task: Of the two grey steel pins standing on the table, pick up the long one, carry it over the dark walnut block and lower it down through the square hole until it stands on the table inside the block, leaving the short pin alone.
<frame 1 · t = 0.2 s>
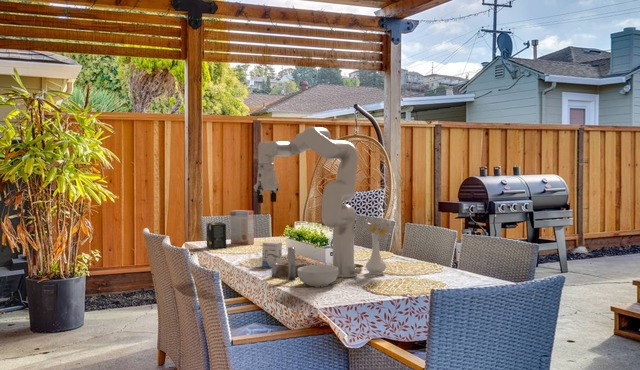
hand: (266, 202, 290), 31 cm above the table, tool pointing down, fingers open, 9 cm apart
long steel pin: (291, 280, 255), on the table
tampon box: (216, 248, 353), on the table
cereal bowl: (318, 285, 245), on the table
cracker box: (242, 244, 368), on the table
short steel pin: (274, 277, 262), on the table
ink box: (272, 266, 290), on the table
walnut hole block: (290, 275, 266), on the table
flower vase: (377, 274, 267), on the table
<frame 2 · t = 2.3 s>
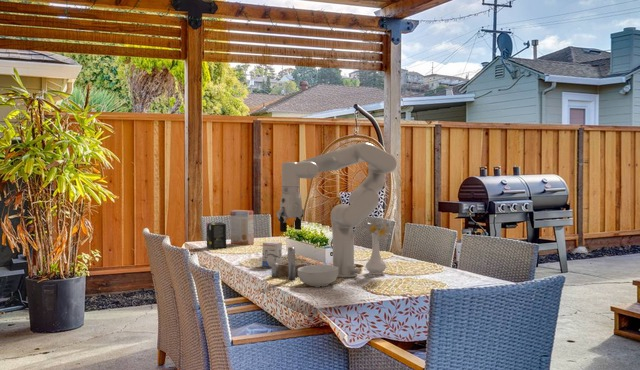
hand: (290, 230, 254), 21 cm above the table, tool pointing down, fingers open, 9 cm apart
nothing on the table moved.
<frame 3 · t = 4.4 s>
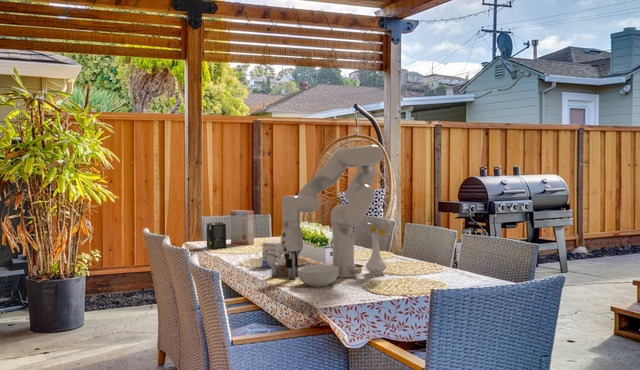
hand: (291, 266, 255), 6 cm above the table, tool pointing down, fingers closed on long steel pin, 3 cm apart
long steel pin: (291, 280, 255), on the table, touching gripper
everything else where it was.
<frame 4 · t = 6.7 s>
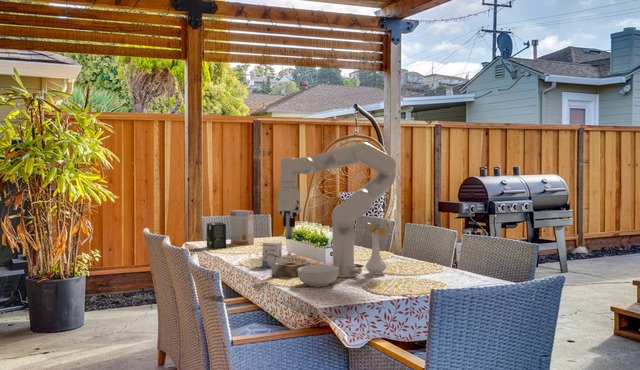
hand: (289, 226, 265), 22 cm above the table, tool pointing down, fingers closed on long steel pin, 3 cm apart
long steel pin: (289, 238, 266), point 16 cm above the table, touching gripper
everything else where it was.
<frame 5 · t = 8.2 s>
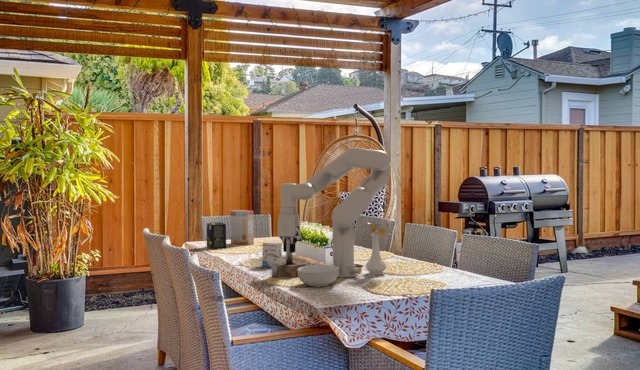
hand: (289, 251, 266), 11 cm above the table, tool pointing down, fingers closed on long steel pin, 3 cm apart
long steel pin: (289, 264, 266), point 5 cm above the table, touching gripper
everything else where it was.
when the fingers open (7 cm above the table, at t = 9.2 s): long steel pin stays where it is, resting in walnut hole block.
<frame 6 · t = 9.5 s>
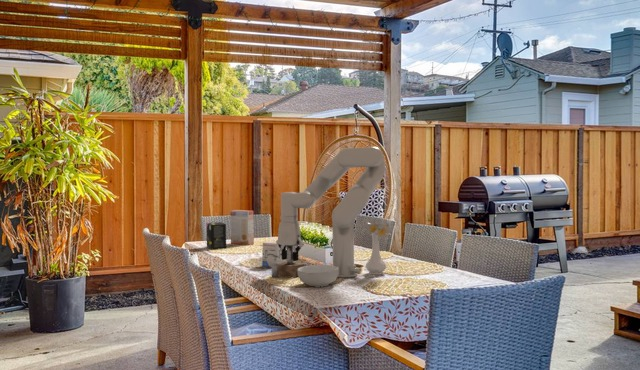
hand: (290, 259, 266), 7 cm above the table, tool pointing down, fingers open, 5 cm apart
long steel pin: (290, 275, 266), resting in walnut hole block
everything else where it was.
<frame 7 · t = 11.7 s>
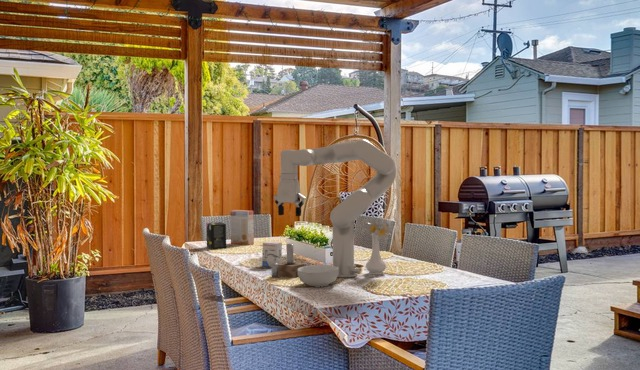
hand: (289, 215, 267), 27 cm above the table, tool pointing down, fingers open, 9 cm apart
nothing on the table moved.
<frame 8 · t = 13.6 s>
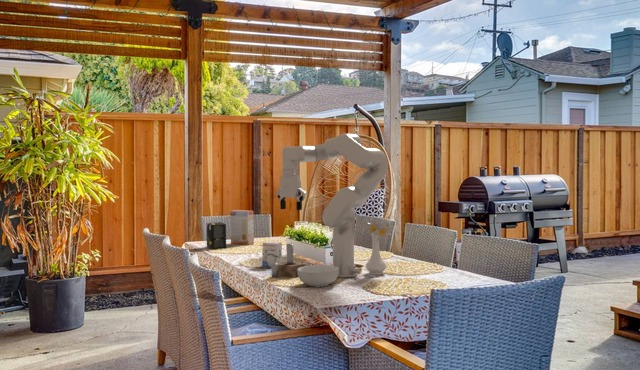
hand: (291, 209, 279), 28 cm above the table, tool pointing down, fingers open, 9 cm apart
nothing on the table moved.
at the end: long steel pin 0.1 cm off-centre on the walnut hole block, point 0.0 cm above the walnut hole block's base; long steel pin tilted 0°; short steel pin moved 0.0 cm from its start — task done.
